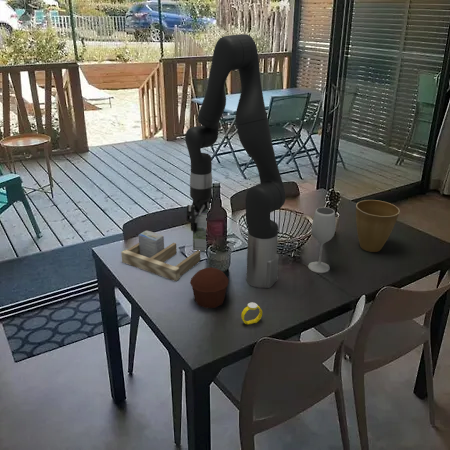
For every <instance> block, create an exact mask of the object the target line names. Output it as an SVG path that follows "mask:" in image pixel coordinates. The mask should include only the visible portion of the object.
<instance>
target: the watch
mask: <svg viewBox="0 0 450 450" xmlns="http://www.w3.org/2000/svg"><path fill="white" fill-rule="evenodd" d="M257 309H258V310H259V311H258V312H259V313H258V314H257V316H256V317H255V318H254V319H250V320H245V317H246V316H245V315H246V314H247V312H248V311H249V310H250V311H256V310H257ZM240 316H241V317H240V318H241V320H242V322H243V323H244V324H245V325H252V324H257V323H258V322H259V321H260V320H261V319H262V316H263V310H262V308H261V307H260V306H259V305H258V304H257V303H256V302H253V301H251V302H249V303H247V306H246V307H244V308H243V310H242V311H241V315H240Z"/></svg>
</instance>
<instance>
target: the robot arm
mask: <svg viewBox="0 0 450 450" xmlns="http://www.w3.org/2000/svg"><path fill="white" fill-rule="evenodd" d="M212 54H213V55H212V59H211V64H210V69H209V75H208V80H207V86H206V91H205V93H204V97H203V100H202V102H201V105H200V108H199V111H198V113H197V121H198V123H199V124H200V125H197V126H192V127H189V128H188V129H187V130H186V133H185V136H184V139H185V140H184V141H185V145H186V147H187V152H188V155H189V159H190V176H189V196H190V198H191V199H192V204H187V206H186V222H189V223H190V231H191V232H192V233H193V232H196V231H197V220H198V218H199V217H200V216H201V213H202V212H203V211H205V210H209V208H210V206H211V204H210V203H211V199H212V194H213V172H212V171H213V170H212V167H213V166H212V165H213V164H212V163H213V159H212V157H211V155H210V154H209V153H206V152H202V149H204V148H207V147H212V146H213V145H214V144H215V143H216V142H217V140H218V138H219V130H220V128H219V127H220V121H221V118H222V117H223V114H224V111H225V109H226V105H227V94H226V89H225V83H226V81H227V78H228V77H229V74H230V73H231V72H232V71H237V70H238V74H239V80H240V94H239V99H238V104H237V106H236V107H237V108H236V111H235V117H234V118H235V125H236V129H237V135H238V139H239V142H240V144H241V146H242V147H243V149H244V151H246V153H247V154H248V155H249V157H250V158H251V159H252V161H253V162H254V164H255V166H256V168H257V171H258V176H259V181H260V183H257V184H255V185H252V186H250V187H249V189H247V191H246V194H245V222H246V225H247V245H246V246H247V249H246V251H247V253H246V273H245V276H246V277H245V278H246V279H245V280H246V282H247V284H248V285H250V286H251V287H255V288H261V289H262V288H263V289H264V288H266V289H270V288H271V287H272V286H273V285H275V284H276V282H277V281H278V276H279V275H278V274H279V273H278V272H279V264H280V263H279V260H280V254H278V253H277V252H278V239H279V225H278V223H277V222H276V221H274V220H272V219H271V213H272V212H275V211H277V210H279V209H281V208H283V206H284V205H285V202H286V189H285V186H284V183H283V179H282V176H281V173H280V170H279V166H278V163H277V159H276V155H275V154H276V153H275V149H274V145H273V141H272V136H271V129H270V124H269V118H268V114H267V110H266V105H265V99H264V92H263V89H262V81H261V71H260V63H259V62H260V61H259V53H258V48H257V44H256V42H255V40H254V38H253V37H252V36H251V35H249V34H247V33H246V34H245V33H244V34H243V33H242V34H231V35H224V36H222V37H220V38H219V39H218V40H217V41H216V44H215V45H214V49H213V53H212ZM201 148H202V149H201ZM195 211H196V212H198V213H195ZM194 215H195V216H196V217H195V219H194Z"/></svg>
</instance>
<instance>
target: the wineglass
mask: <svg viewBox="0 0 450 450" xmlns="http://www.w3.org/2000/svg"><path fill="white" fill-rule="evenodd" d="M310 231H311V235H312V237H313V238H314V240H316V241H317V242H318V243H319V253H318V254H319V256H318V261H311V262H310V263H309V264H308V266H307V267H308V269H309V270H310V271H311V272H312V273H313V272H314V273H318V274H324V273H328V272H330V270H331V269H330V265H329V264H327V263H326V262H323V261H322V254H323V253H322V252H323V246H324V244H325V243H327V242H329V241H330V240H332V239H333V238H334V236H335V233H336V212H335V210H334V209H333V208H330V207H326V206H320V207H318V208H316V209H315V212H314V214H313V220H312V223H311V229H310Z"/></svg>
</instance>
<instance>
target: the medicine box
mask: <svg viewBox="0 0 450 450" xmlns="http://www.w3.org/2000/svg"><path fill="white" fill-rule="evenodd" d="M137 236H138V243H139V249H140V255H143V256H146V257H149V258H151V257H152V256H154V255H155V254H157V253H159V252H160V251H162V250H163V249H165V238H164V235H163V234H159V233H156V232H155V231H154V232H153V231H150V230H144V231H143V232H141V233H139V234H138V235H137Z"/></svg>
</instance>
